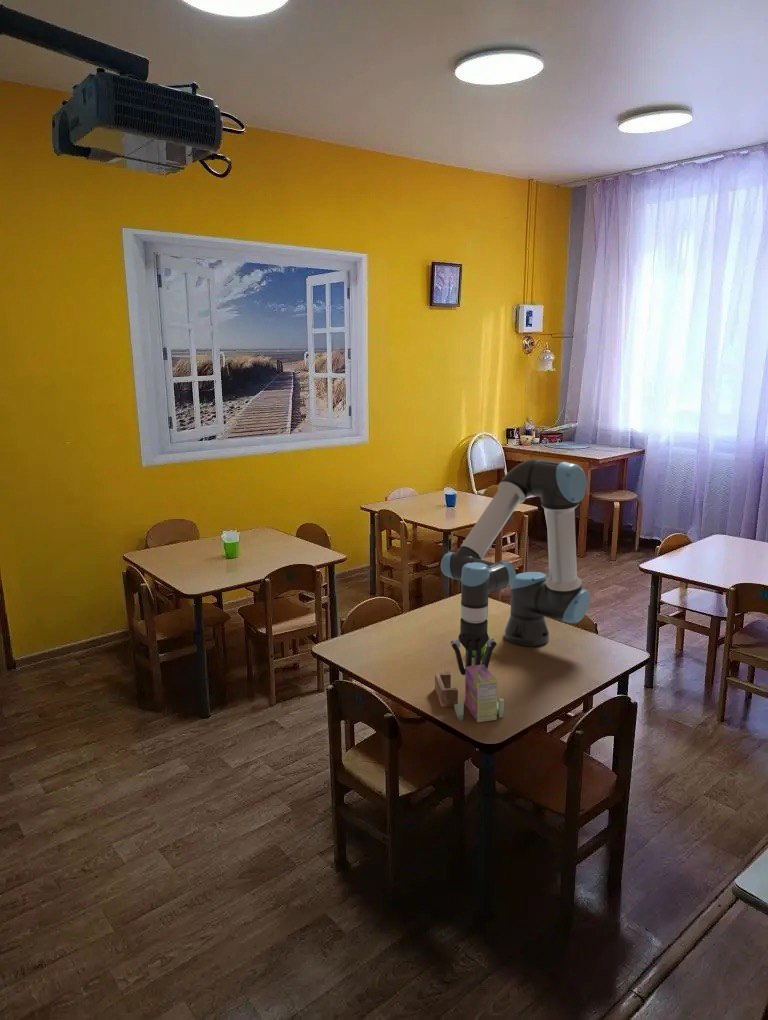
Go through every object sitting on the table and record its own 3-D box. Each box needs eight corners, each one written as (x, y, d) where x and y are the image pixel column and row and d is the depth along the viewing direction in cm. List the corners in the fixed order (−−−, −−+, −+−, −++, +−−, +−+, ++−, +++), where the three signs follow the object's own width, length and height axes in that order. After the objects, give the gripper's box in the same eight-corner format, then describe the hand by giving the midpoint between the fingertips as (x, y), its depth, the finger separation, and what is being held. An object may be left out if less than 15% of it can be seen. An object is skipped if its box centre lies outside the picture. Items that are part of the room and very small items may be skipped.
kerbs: (497, 706, 193) (498, 690, 192) (503, 717, 188) (504, 700, 186) (454, 709, 192) (454, 692, 191) (459, 720, 186) (459, 703, 185)
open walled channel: (485, 684, 206) (486, 669, 205) (496, 704, 194) (497, 688, 193) (434, 687, 204) (434, 672, 203) (442, 708, 193) (442, 691, 192)
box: (464, 704, 195) (465, 665, 192) (483, 702, 196) (484, 663, 193) (476, 723, 185) (477, 682, 182) (496, 720, 186) (498, 680, 183)
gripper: (493, 612, 195) (491, 688, 201) (448, 614, 194) (447, 690, 199) (500, 622, 188) (497, 700, 193) (453, 624, 187) (452, 703, 192)
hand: (472, 695), depth 196 cm, fingers closed
